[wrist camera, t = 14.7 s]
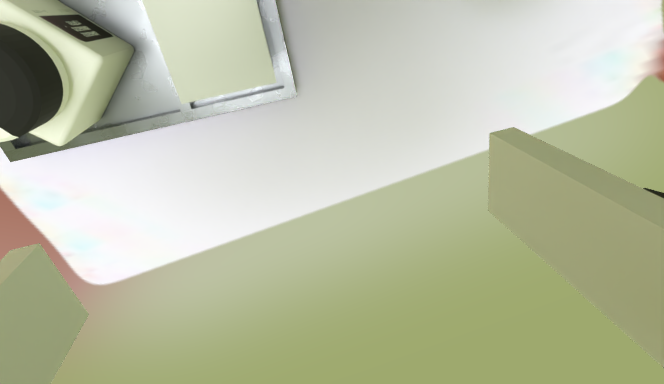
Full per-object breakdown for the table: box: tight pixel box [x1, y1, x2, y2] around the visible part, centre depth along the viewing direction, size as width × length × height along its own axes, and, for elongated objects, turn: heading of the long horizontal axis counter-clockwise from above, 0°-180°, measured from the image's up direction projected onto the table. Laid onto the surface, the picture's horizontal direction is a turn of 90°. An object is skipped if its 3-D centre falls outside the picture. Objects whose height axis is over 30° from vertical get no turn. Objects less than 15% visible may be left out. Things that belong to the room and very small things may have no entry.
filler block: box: [142, 0, 277, 104], centre depth 30 cm, size 9×8×6 cm
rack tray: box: [0, 0, 297, 162], centre depth 32 cm, size 14×27×3 cm, turn 101°
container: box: [0, 0, 134, 146], centre depth 26 cm, size 8×8×13 cm
